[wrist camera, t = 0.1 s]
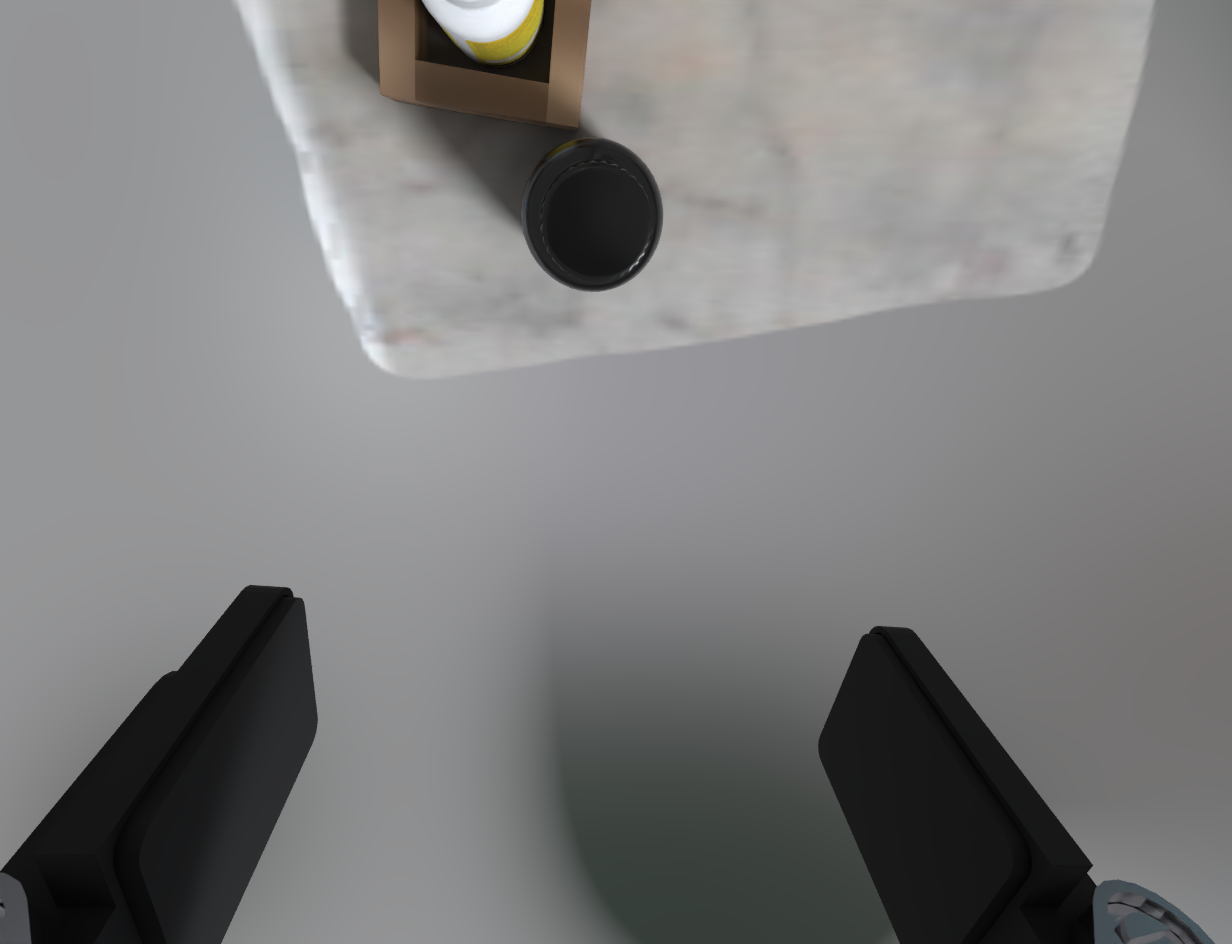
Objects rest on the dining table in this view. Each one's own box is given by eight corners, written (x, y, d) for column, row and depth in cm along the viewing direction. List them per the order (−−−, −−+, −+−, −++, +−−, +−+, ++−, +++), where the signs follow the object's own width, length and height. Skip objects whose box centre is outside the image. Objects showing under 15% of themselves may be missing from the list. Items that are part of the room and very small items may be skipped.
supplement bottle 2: (534, 270, 36) (519, 308, 26) (525, 145, 33) (503, 129, 23) (643, 268, 37) (673, 304, 26) (644, 144, 34) (679, 127, 23)
